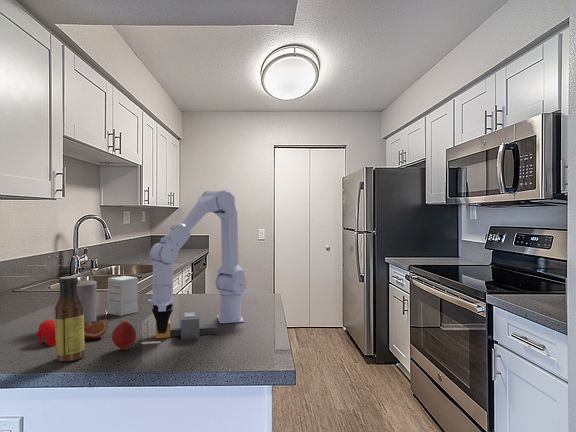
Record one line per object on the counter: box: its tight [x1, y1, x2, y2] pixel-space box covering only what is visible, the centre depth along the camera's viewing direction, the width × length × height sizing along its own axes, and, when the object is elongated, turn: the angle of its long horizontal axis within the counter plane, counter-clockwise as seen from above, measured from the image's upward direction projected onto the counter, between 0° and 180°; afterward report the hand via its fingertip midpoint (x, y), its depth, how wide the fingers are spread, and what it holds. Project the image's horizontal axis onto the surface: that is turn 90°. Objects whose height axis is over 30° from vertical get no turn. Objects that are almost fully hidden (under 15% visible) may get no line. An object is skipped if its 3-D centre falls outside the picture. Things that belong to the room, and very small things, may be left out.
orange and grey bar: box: [155, 319, 218, 339], centre depth 125 cm, size 18×4×4 cm, turn 105°
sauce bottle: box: [54, 275, 86, 363], centre depth 103 cm, size 6×6×20 cm
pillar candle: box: [77, 278, 98, 323], centre depth 133 cm, size 10×10×15 cm
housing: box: [179, 310, 200, 341], centre depth 125 cm, size 11×5×6 cm, turn 15°
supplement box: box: [107, 275, 139, 317], centre depth 151 cm, size 7×7×13 cm
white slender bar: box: [140, 340, 162, 345], centre depth 116 cm, size 1×5×1 cm, turn 105°
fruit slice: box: [84, 319, 109, 340], centre depth 120 cm, size 8×7×5 cm
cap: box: [35, 319, 56, 347], centre depth 115 cm, size 8×6×6 cm
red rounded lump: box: [111, 318, 137, 351], centre depth 110 cm, size 6×6×8 cm
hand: (162, 331), depth 123 cm, fingers closed on orange and grey bar, 4 cm apart
